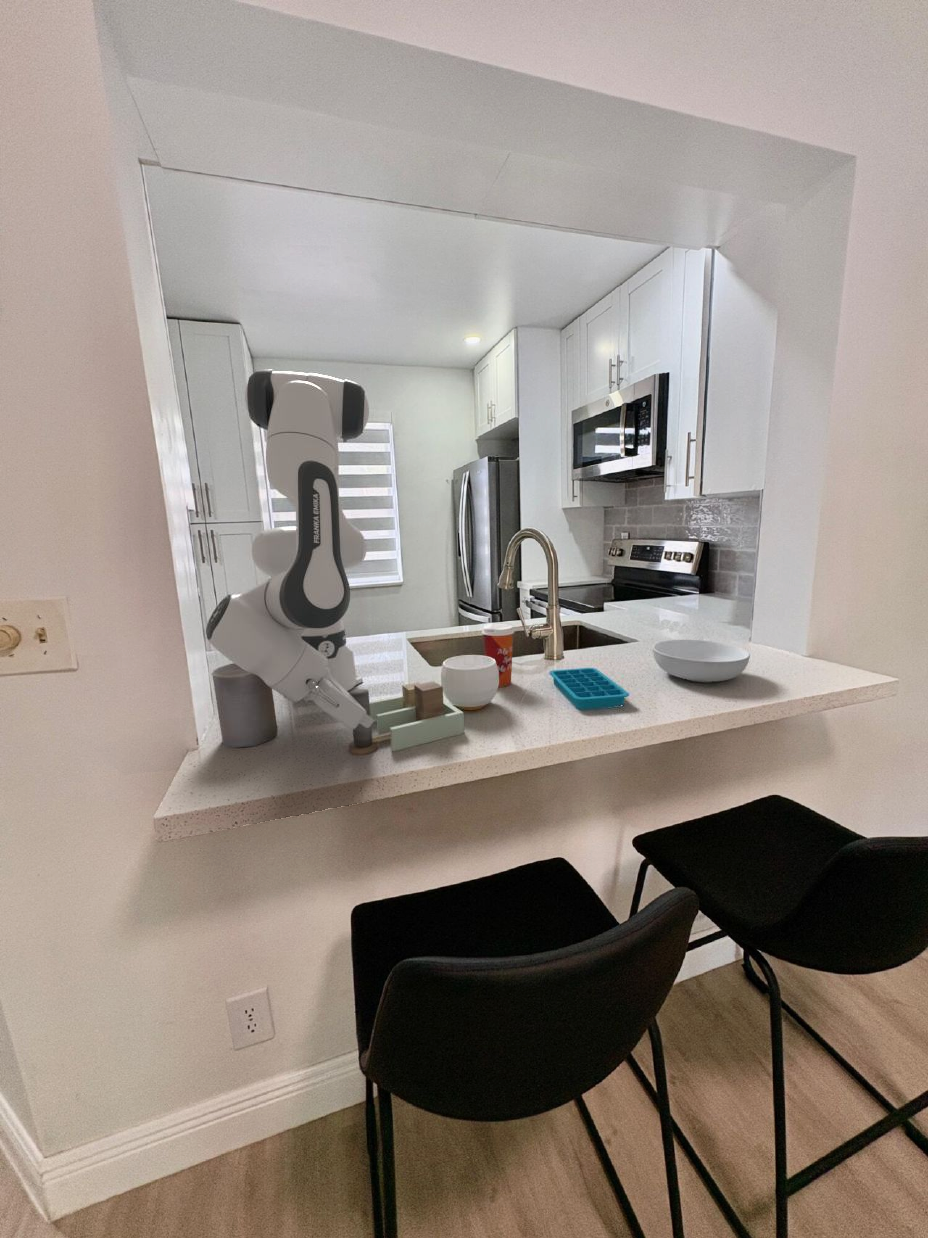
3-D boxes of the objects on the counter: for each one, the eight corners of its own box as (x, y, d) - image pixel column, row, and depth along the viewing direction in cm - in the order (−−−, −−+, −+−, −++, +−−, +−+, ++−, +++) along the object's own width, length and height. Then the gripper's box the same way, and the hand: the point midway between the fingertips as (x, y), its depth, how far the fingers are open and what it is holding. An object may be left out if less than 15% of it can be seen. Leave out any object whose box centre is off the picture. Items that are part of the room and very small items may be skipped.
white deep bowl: (448, 694, 113) (446, 653, 111) (502, 696, 111) (501, 654, 109) (436, 715, 101) (434, 669, 99) (496, 717, 99) (495, 670, 97)
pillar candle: (261, 722, 101) (252, 651, 98) (287, 734, 94) (278, 658, 92) (213, 740, 94) (200, 663, 91) (237, 754, 87) (225, 672, 84)
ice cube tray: (576, 713, 100) (576, 699, 100) (547, 682, 120) (547, 670, 119) (631, 709, 102) (631, 695, 101) (594, 679, 121) (594, 667, 121)
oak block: (404, 718, 100) (402, 685, 99) (420, 714, 102) (418, 682, 101) (410, 724, 97) (408, 690, 96) (427, 720, 99) (425, 686, 98)
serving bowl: (727, 698, 105) (729, 666, 104) (635, 678, 120) (636, 650, 119) (761, 675, 119) (763, 647, 117) (675, 660, 134) (676, 635, 133)
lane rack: (365, 722, 99) (364, 703, 98) (429, 707, 106) (428, 689, 105) (393, 751, 86) (391, 729, 85) (464, 732, 92) (463, 712, 91)
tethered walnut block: (345, 746, 88) (340, 690, 86) (434, 724, 97) (431, 673, 95) (353, 757, 84) (348, 699, 82) (446, 733, 92) (443, 680, 90)
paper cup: (506, 690, 115) (505, 631, 112) (477, 685, 119) (475, 628, 116) (520, 680, 121) (519, 624, 118) (493, 676, 125) (491, 622, 123)
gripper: (329, 673, 72) (397, 722, 78) (302, 645, 90) (359, 687, 96) (301, 709, 71) (372, 755, 77) (278, 673, 88) (338, 714, 95)
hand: (364, 717), depth 87 cm, fingers open, 5 cm apart
